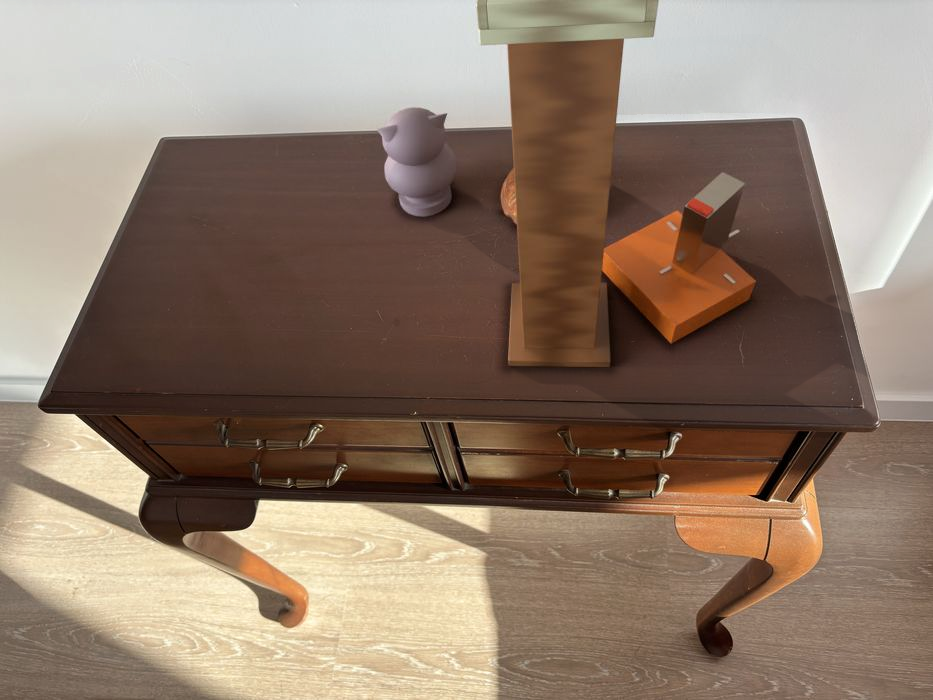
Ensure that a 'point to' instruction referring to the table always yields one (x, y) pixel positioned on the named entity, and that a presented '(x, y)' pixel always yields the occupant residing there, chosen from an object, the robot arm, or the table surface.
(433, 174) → the cat figurine
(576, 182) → the brown wooden square column
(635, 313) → the table surface
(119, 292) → the table surface
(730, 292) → the orange flat square block
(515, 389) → the table surface
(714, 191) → the steel brick red tip
